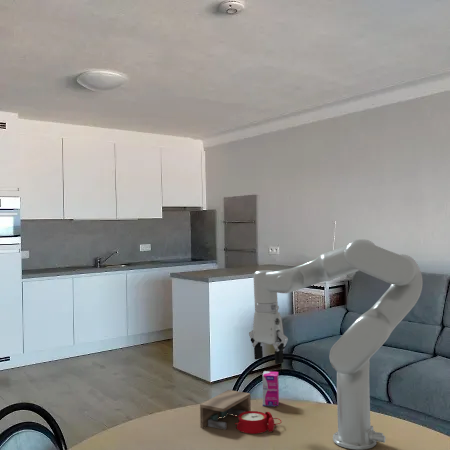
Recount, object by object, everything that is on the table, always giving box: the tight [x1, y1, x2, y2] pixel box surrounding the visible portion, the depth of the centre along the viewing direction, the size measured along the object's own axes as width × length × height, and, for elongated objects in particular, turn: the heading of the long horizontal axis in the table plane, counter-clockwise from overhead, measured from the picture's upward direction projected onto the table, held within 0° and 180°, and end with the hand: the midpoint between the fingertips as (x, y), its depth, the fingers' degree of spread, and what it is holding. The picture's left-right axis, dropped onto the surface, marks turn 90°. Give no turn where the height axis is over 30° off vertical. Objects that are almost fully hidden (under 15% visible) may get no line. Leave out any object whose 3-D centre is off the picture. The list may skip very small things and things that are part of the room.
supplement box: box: [262, 370, 280, 407], centre depth 180 cm, size 6×6×12 cm
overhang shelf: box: [199, 389, 252, 431], centre depth 163 cm, size 9×18×8 cm, turn 149°
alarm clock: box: [233, 410, 282, 435], centre depth 157 cm, size 10×6×15 cm
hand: (268, 361), depth 157 cm, fingers open, 9 cm apart
